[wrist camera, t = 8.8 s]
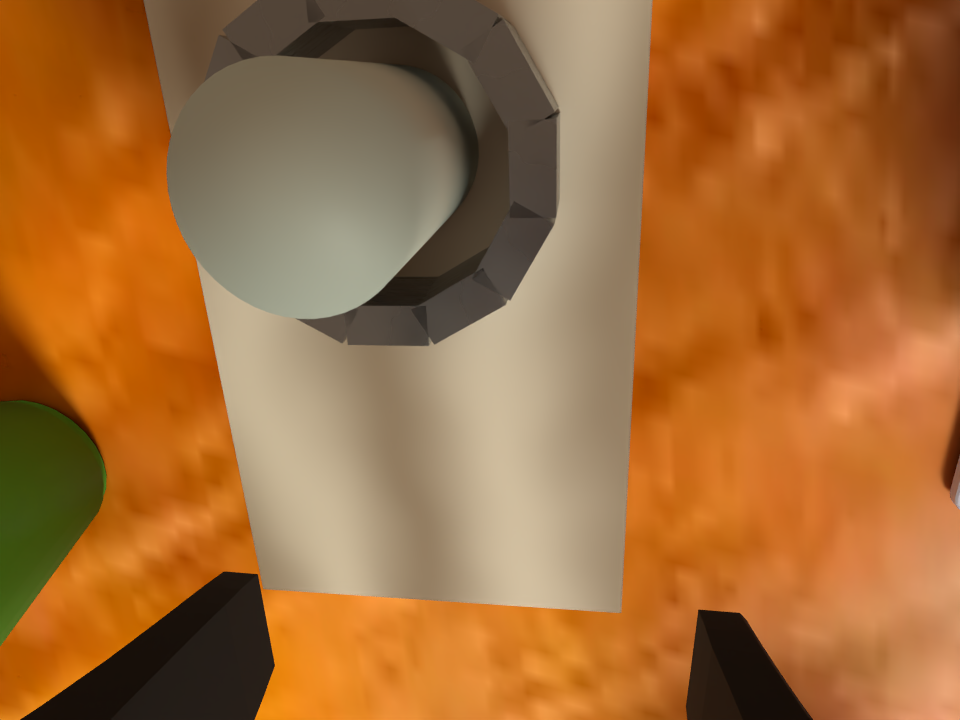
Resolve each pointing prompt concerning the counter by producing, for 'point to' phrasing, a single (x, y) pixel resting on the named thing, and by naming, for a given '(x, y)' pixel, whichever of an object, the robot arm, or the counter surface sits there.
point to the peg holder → (452, 316)
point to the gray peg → (316, 177)
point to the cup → (41, 499)
